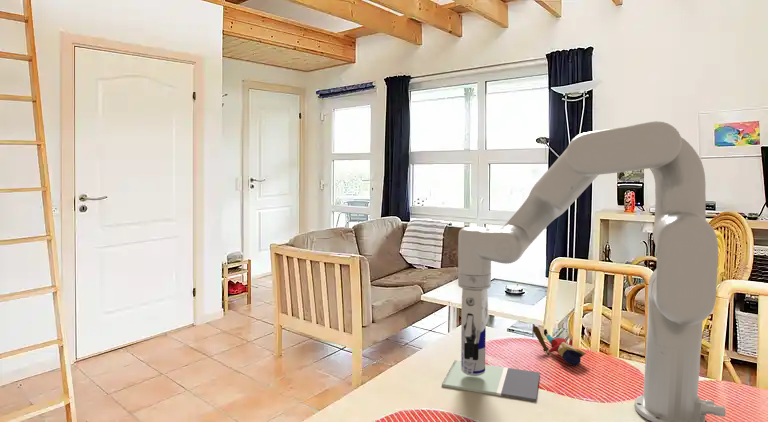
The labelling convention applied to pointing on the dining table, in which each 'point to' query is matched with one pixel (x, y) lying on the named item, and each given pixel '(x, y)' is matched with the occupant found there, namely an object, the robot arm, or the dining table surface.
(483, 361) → the beverage can
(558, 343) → the toy
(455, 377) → the mat
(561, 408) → the dining table surface
